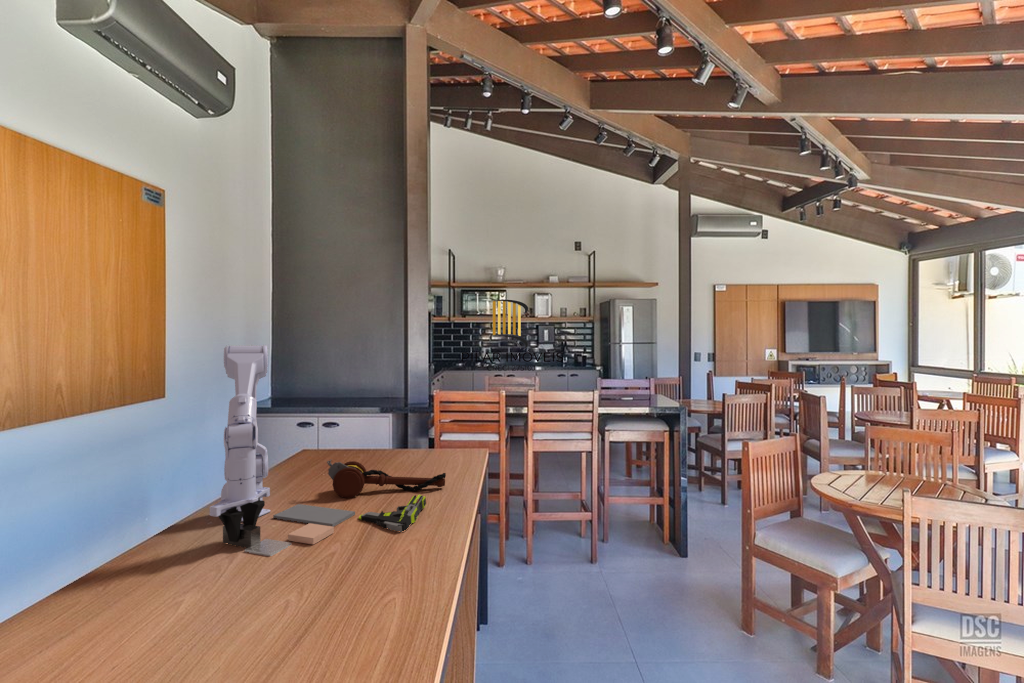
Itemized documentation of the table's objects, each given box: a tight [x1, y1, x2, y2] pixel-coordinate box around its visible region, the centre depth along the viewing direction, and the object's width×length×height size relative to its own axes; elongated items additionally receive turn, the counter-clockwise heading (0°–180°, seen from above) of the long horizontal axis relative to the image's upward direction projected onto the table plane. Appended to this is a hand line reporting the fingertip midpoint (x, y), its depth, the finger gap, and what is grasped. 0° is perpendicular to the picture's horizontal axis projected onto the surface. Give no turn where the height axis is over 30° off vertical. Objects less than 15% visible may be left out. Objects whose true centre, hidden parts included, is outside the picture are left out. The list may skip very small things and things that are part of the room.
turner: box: [222, 523, 292, 557], centre depth 111 cm, size 15×6×4 cm, turn 72°
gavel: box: [326, 458, 447, 499], centre depth 149 cm, size 10×34×10 cm
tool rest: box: [272, 503, 356, 528], centre depth 128 cm, size 18×9×1 cm, turn 72°
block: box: [287, 523, 335, 545], centre depth 115 cm, size 2×7×7 cm
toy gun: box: [358, 494, 427, 533], centre depth 128 cm, size 20×4×15 cm
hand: (241, 537), depth 112 cm, fingers open, 3 cm apart
